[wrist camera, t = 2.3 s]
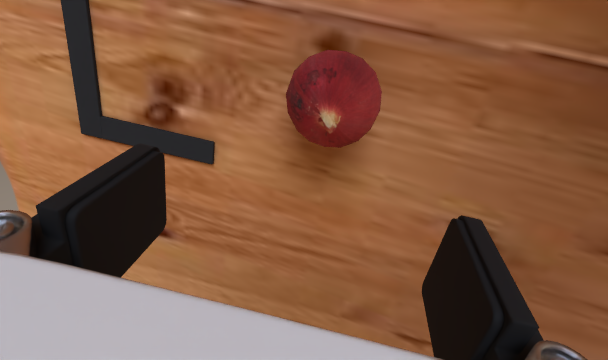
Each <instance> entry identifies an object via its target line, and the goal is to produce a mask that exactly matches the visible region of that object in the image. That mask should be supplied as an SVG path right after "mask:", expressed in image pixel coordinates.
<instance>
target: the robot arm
mask: <svg viewBox="0 0 608 360" xmlns="http://www.w3.org/2000/svg"><path fill="white" fill-rule="evenodd" d="M36 209H37V213H38V214H37V215H35V216H34V217H32V218H31V217H30V216H29V215H28V214H27V213H24V212H21V211H13V210H4V211H0V360H587V359H586V358H585V357H583V356H582V355H581V354H580V353H578V352H576V351H575V350H573V349H571V348H569V347H568V346H565V345H563V344H560V343H558V342H554V341H548V340H546V341H544V340H543V338H542V336H541V335H540V333H539V331H538V328H539V326H538V324H537V323H536V321H535V319H534V317H533V315H532V313H531V311H530V310H529V308H528V306H527V304H526V302H525V300H524V298H523V296H522V295H521V293H520V291H519V289H518V287H517V285H516V283H515V282H514V280H513V278H512V276H511V274H510V272H509V270H508V269H507V267H506V265H505V263H504V261H503V259H502V257H501V255H500V254H499V252H498V250H497V248H496V246H495V244H494V242H493V241H492V239H491V237H490V235H489V233H488V231H487V229H486V228H485V226H484V224H483V222H482V221H481V220H479V219H475V218H471V217H466V216H462V215H461V216H459V217H458V219H452V220H451V222H450V224H449V226H448V228H447V230H446V233H445V235H444V237H443V239H442V242H441V244H440V246H439V248H438V250H437V253H436V255H435V257H434V259H433V262H432V264H431V266H430V268H429V271H428V273H427V275H426V277H425V279H424V282H423V285H422V296H423V301H424V306H425V311H426V317H427V322H428V327H429V332H430V337H431V342H432V348H433V353H434V357H432V356H428V355H424V354H420V353H416V352H412V351H408V350H405V349H401V348H397V347H393V346H389V345H385V344H381V343H377V342H374V341H370V340H366V339H362V338H358V337H354V336H350V335H346V334H342V333H339V332H335V331H331V330H327V329H323V328H319V327H315V326H311V325H307V324H304V323H300V322H296V321H292V320H288V319H284V318H280V317H276V316H272V315H268V314H264V313H260V312H256V311H252V310H248V309H244V308H240V307H236V306H232V305H228V304H224V303H220V302H216V301H212V300H208V299H204V298H200V297H197V296H193V295H188V294H184V293H180V292H176V291H172V290H168V289H164V288H160V287H156V286H152V285H148V284H144V283H140V282H136V281H132V280H128V279H124V278H121V277H122V275H123V274H124V273H125V272H126V271H127V270H128V269H129V268H130V267H131V266H132V264H133V263H134V262H135V261H136V260H137V259H138V258H139V257H140V256H141V254H142V253H143V252H144V251H145V250H146V249H147V248H148V247H149V246H150V244H151V243H152V242H153V241H154V240H155V239H156V238H157V237H158V236H159V235H160V233H161V232H162V231H163V230H164V228H165V225H166V192H165V160H164V154H163V153H161V152H160V150H159V148H157V147H154V146H149V145H145V144H137V145H135V146H134V147H132V148H130V149H129V150H127V151H125V152H124V153H122V154H120V155H119V156H117V157H115V158H114V159H112V160H111V161H109V162H107V163H106V164H104V165H102V166H101V167H99V168H97V169H96V170H94V171H92V172H91V173H89V174H87V175H86V176H84V177H83V178H81V179H79V180H78V181H76V182H74V183H73V184H71V185H69V186H68V187H66V188H64V189H63V190H61V191H59V192H58V193H56V194H54V195H53V196H51V197H50V198H48V199H46V200H45V201H43V202H41V203H40V204H38V205H36Z"/></svg>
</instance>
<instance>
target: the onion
mask: <svg viewBox="0 0 608 360" xmlns="http://www.w3.org/2000/svg"><path fill="white" fill-rule="evenodd" d="M381 93H382V91H381V88H380V85H379V81H378V78H377V75H376V72H375V71H374V70H373V69H372V68H371V67H370V66H369V65H368V64H367V63H366V62H365V61H364V60H363V59H362V58H360V57H358V56H356V55H353V54H351V53H348V52H346V51H333V50H326V51H323V52H321V53H318V54H315V55H313V56H310V57H308V58H307V59H306V60H305V61H304V62H303V63H302V64H301V65H300V66H299V67H298V68H297V69H296V70H295V71H294V73H293V76H292V79H291V81H290V84H289V87H288V90H287V92H286V99H287V108H288V114H289V116H290V118H291V120H292V121H293V123H294V125H295V127H296V129H297V131H298V132H300V133H301V134H302V135H303V136H304V137H305V138H306V139H307V140H309V141H310V142H313V143H316V144H319V145H321V146H324V147H343V146H346V145H348V144H351V143H353V142H356V141H358V140H359V139H360V138H361V137H362V136H364V135H365V134H366V133H367V132H368V131H369V130H370V129H371V127H372V125H373V123H374V121H375V119H376V117H377V115H378V113H379V111H380V104H381Z"/></svg>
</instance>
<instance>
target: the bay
mask: <svg viewBox="0 0 608 360" xmlns="http://www.w3.org/2000/svg"><path fill="white" fill-rule="evenodd" d="M61 5H62V11H63V18H64V24H65V31H66V37H67V44H68V50H69V56H70V63H71V69H72V76H73V82H74V89H75V95H76V102H77V108H78V115H79V121H80V127H81V133H82V134H86V135H90V136H94V137H98V138H103V139H107V140H111V141H115V142H119V143H124V144H128V145H132V146H135V145H137V144H145V145H149V146H154V147H157V148H159V150H160V152H162V153H166V154H170V155H174V156H178V157H183V158H187V159H191V160H195V161H200V162H204V163H208V164H213V163H214V143H215V142H212V141H208V140H204V139H200V138H195V137H191V136H187V135H182V134H178V133H174V132H169V131H165V130H161V129H156V128H152V127H148V126H144V125H139V124H135V123H131V122H126V121H122V120H118V119H113V118H109V117H105V116H102V111H101V103H100V94H99V86H98V78H97V69H96V61H95V53H94V44H93V36H92V28H91V20H90V11H89V3H88V0H61Z"/></svg>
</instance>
